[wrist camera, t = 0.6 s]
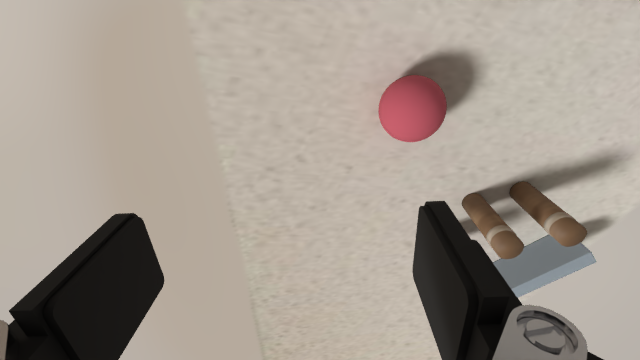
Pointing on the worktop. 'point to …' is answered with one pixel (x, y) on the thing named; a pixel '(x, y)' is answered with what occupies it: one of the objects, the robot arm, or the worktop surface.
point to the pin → (548, 215)
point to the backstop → (542, 264)
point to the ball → (412, 108)
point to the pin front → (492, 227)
